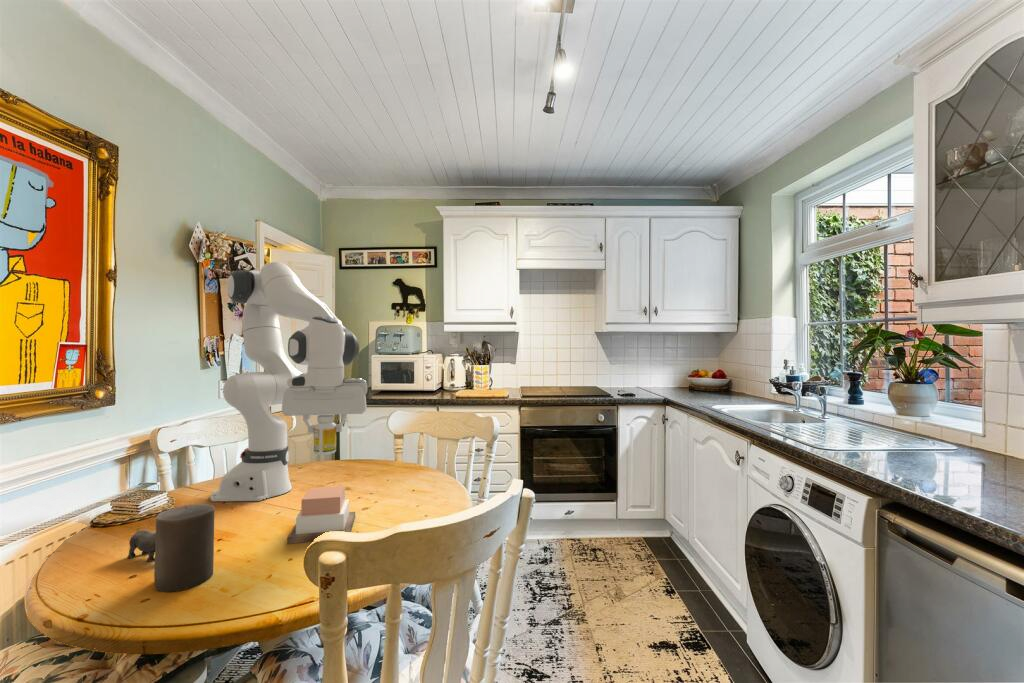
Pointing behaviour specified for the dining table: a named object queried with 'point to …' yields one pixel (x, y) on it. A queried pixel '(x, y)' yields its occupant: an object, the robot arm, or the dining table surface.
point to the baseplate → (311, 536)
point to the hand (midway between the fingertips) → (325, 431)
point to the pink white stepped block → (323, 510)
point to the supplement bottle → (325, 435)
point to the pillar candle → (184, 547)
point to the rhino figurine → (143, 544)
